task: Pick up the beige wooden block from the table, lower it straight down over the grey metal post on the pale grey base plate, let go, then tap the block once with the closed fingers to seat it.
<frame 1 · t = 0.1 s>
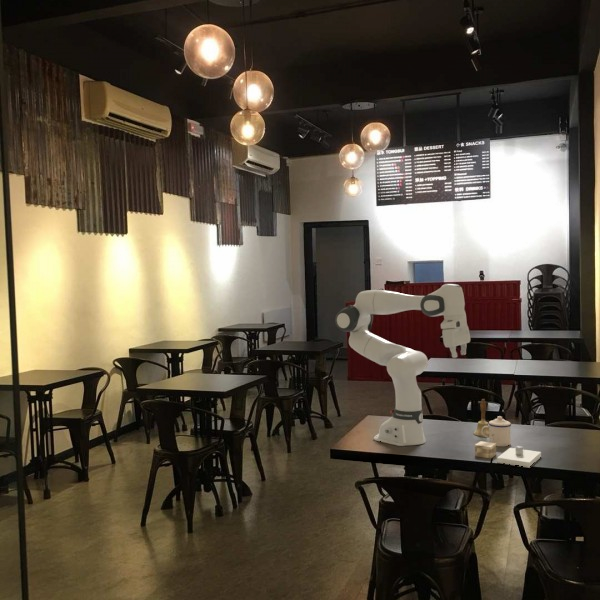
hand: (459, 356, 257), 39 cm above the table, tool pointing down, fingers open, 8 cm apart
beige wooden block: (485, 455, 249), on the table
teacup with lid: (496, 444, 266), on the table
hand bell: (483, 434, 281), on the table
post base: (519, 459, 242), on the table
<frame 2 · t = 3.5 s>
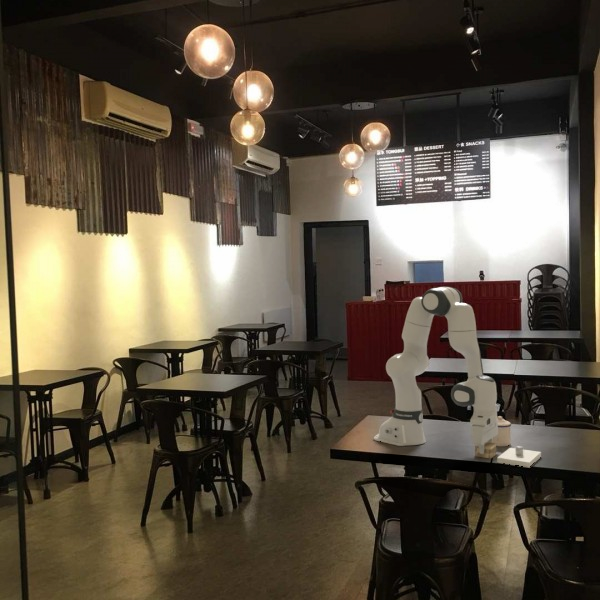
hand: (485, 451, 249), 2 cm above the table, tool pointing down, fingers closed on beige wooden block, 6 cm apart
beige wooden block: (485, 455, 249), on the table, touching gripper
everything else where it was.
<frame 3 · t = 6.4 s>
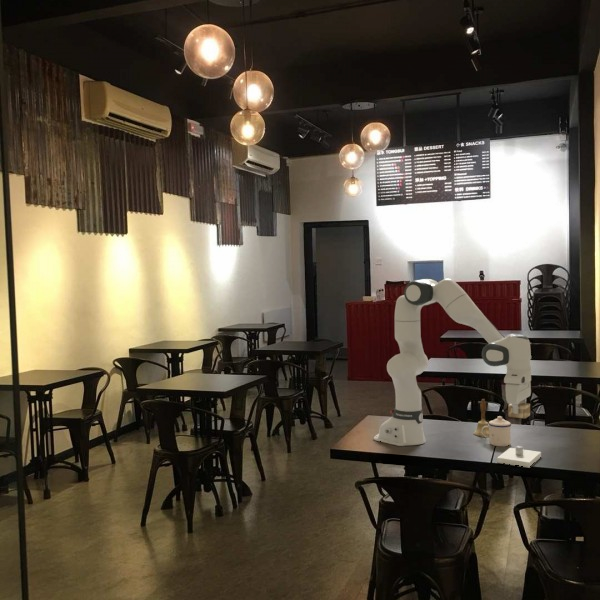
hand: (519, 411, 241), 19 cm above the table, tool pointing down, fingers closed on beige wooden block, 6 cm apart
beige wooden block: (519, 415, 242), point 17 cm above the table, touching gripper
everything else where it was.
when the fingers open (4 cm above the table, at t = 9.3 s): beige wooden block stays where it is, resting on post base.
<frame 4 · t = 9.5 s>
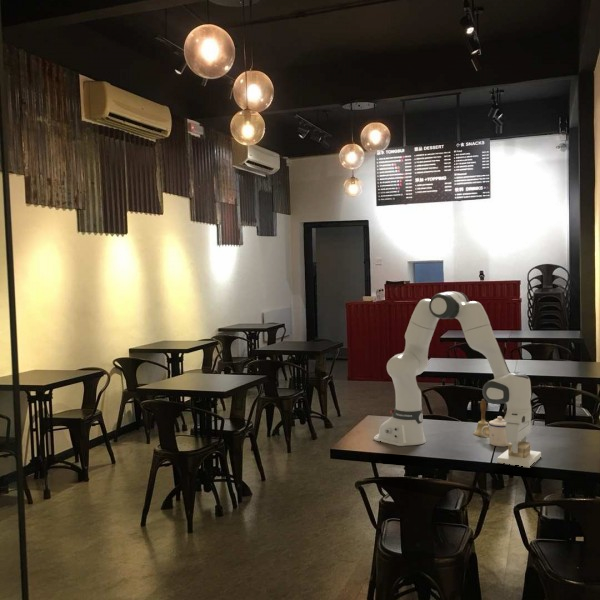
hand: (519, 449, 242), 4 cm above the table, tool pointing down, fingers open, 8 cm apart
beige wooden block: (519, 454, 242), point 2 cm above the table, touching post base
everything else where it was.
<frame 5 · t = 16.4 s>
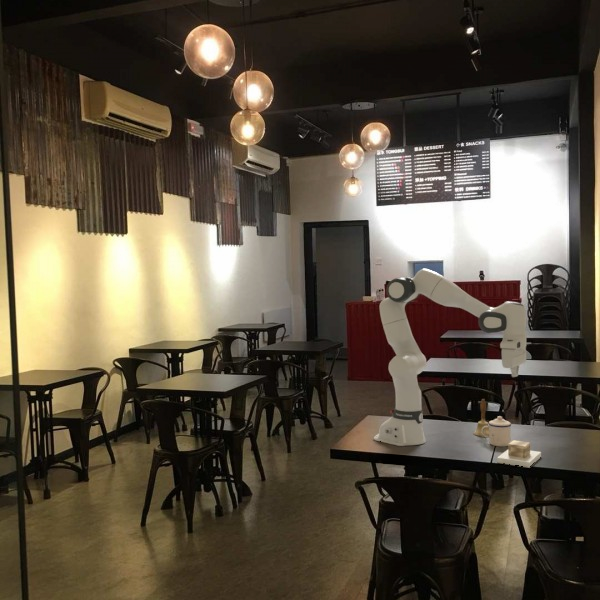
hand: (514, 376, 250), 31 cm above the table, tool pointing down, fingers closed
nothing on the table moved.
at the end: beige wooden block 0.1 cm off-centre on the post base, point 2.0 cm above the post base's base; beige wooden block tilted 0°; the gripper is holding nothing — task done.
